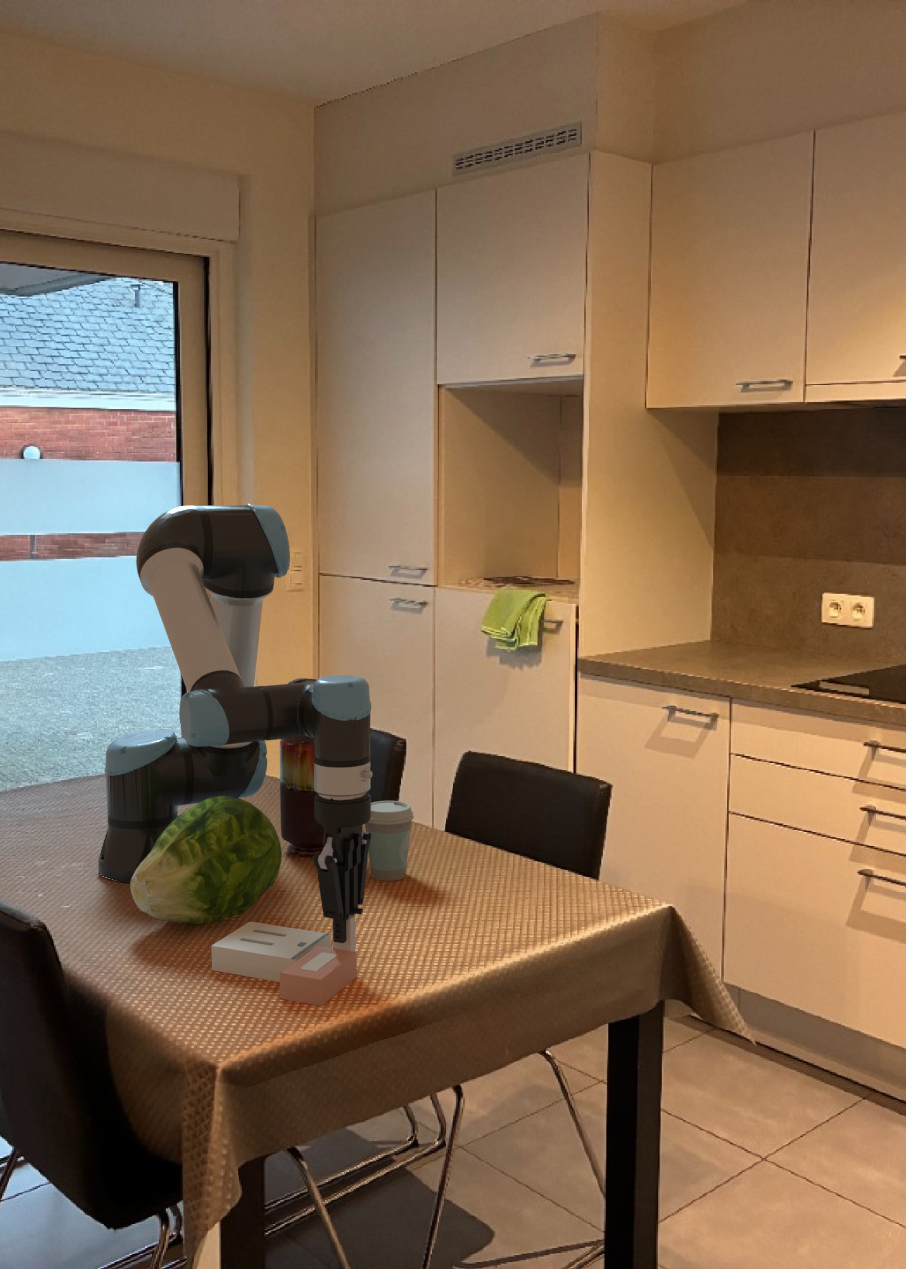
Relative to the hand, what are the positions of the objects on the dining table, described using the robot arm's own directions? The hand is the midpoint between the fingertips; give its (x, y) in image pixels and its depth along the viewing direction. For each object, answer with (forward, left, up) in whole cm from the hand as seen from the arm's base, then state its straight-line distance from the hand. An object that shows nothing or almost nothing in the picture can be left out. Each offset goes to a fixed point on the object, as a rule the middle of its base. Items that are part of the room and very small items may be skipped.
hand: (344, 962), depth 170 cm
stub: (-1, -6, -2) cm, 6 cm away
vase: (-31, +48, -2) cm, 57 cm away
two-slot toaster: (-11, -1, -2) cm, 11 cm away
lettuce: (-29, +11, -2) cm, 31 cm away
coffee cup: (-12, +40, -2) cm, 42 cm away
